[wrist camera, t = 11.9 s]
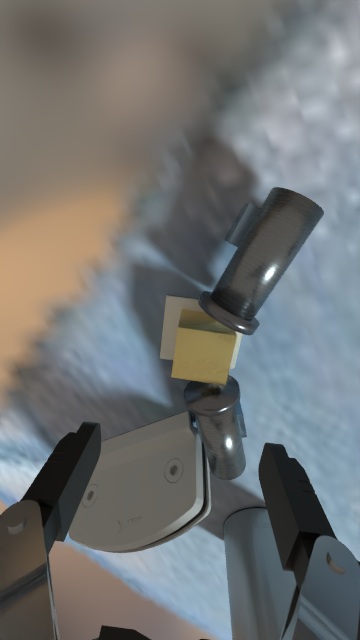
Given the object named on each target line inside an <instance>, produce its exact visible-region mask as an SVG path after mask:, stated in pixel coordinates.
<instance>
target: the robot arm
mask: <svg viewBox="0 0 360 640" xmlns="http://www.w3.org/2000/svg"><path fill="white" fill-rule="evenodd" d="M100 452H101V430H100V424H99V423H91V422H83V423H82V425H81V426H80V428H79V430H78V431H77V433H72V432H70V433H68V434H67V435H66V436H65V437H64V438H62V439H61V440H60V441H59V443H58V444H57V446H56V447H55V449H54V451H53V453H52V454H51V455H50V457H49V458H48V460H47V462H46V463H45V464H44V466H43V467H42V469H41V470H40V472H39V474H38V475H37V477H36V478H35V480H34V481H33V483H32V484H31V486H30V487H29V489H28V490H27V492H26V494H25V495H24V496H23V498H22V499H21V500H20V501H19V502H17V503H15V504H13V505H11V506H10V507H9V508H7V509H6V510H5V511H4V512H3V513H2V514H1V515H0V640H60V639H59V632H58V625H57V618H56V611H55V603H54V595H53V587H52V580H51V571H50V563H49V552H50V550H51V548H52V546H53V544H54V541H62V542H64V540H65V538H66V535H67V533H68V530H69V528H70V526H71V523H72V521H73V519H74V516H75V514H76V512H77V509H78V507H79V505H80V502H81V500H82V498H83V495H84V493H85V490H86V488H87V486H88V483H89V481H90V479H91V476H92V474H93V472H94V469H95V467H96V465H97V462H98V460H99V456H100ZM258 472H259V480H260V484H261V488H262V492H263V496H264V500H265V503H266V507H267V509H262V508H251V509H245V510H242V511H239V512H236V513H235V514H233V515H231V516H230V517H229V518H228V519H227V520H226V522H225V524H224V527H223V528H224V542H225V554H226V568H227V580H228V591H229V603H230V615H231V627H232V639H233V640H360V562H359V561H358V560H356V558H355V557H354V555H353V554H352V552H351V551H350V550H349V549H348V548H347V547H346V546H345V545H344V544H342V543H341V542H340V541H338V539H337V538H336V536H335V534H334V532H333V530H332V528H331V526H330V523H329V521H328V519H327V517H326V515H325V513H324V510H323V508H322V506H321V504H320V502H319V500H318V498H317V495H316V494H315V491H314V489H313V487H312V485H311V484H310V480H309V478H308V476H307V474H306V472H305V470H304V468H303V467H302V466H301V465H300V464H299V462H298V461H297V460H296V459H295V458H289V457H288V454H287V452H286V450H285V447H284V446H283V445H282V444H273V443H265V445H264V449H263V452H262V456H261V460H260V463H259V471H258ZM92 640H151V639H149V638H147V637H146V636H144V635H142V634H141V633H139V632H137V631H136V630H133V629H124V628H118V627H109V626H102V627H101V631H100V636H99V638H96V639H92ZM200 640H208V639H200Z"/></svg>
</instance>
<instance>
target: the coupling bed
mask: <svg viewBox="0 0 360 640" xmlns="http://www.w3.org/2000/svg"><path fill="white" fill-rule="evenodd" d="M198 301H199V300H198V299H191V298H184V297H176V296H169V295H166V303H165V312H164V322H163V332H162V341H161V351H160V359H167V360H174V353H175V345H176V338H177V331H178V325H179V320H180V315H181V310H182V309H186V310H193V311H200V312H205V311H204V310H203V309H202V308H201V307H200V306H199V304H198ZM236 334H237V339H236V343H235V347H234V352H233V356H232V360H231V364H230V369H234V368H235V364H236V359H237V355H238V351H239V347H240V342H241V338H242V333H239V332H236Z"/></svg>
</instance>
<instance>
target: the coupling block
mask: <svg viewBox="0 0 360 640" xmlns="http://www.w3.org/2000/svg"><path fill="white" fill-rule="evenodd" d="M236 339H237V334H236V331H234V330H232V329H230V328H228V327H226V326H224V325H222V324H221V323H219V322H218V321H216V320H215V319H213V318H212V317H211V316H209V315H208V314H207V313H206V312H200V311H193V310H186V309H182V310H181V315H180V320H179V325H178V331H177V338H176V345H175V353H174V360H173V367H172V375H171V377H173V378H180V379H186V380H193V381H199V382H206V383H213V384H219V385H226V381H227V377H228V373H229V369H230V364H231V360H232V356H233V352H234V347H235V343H236Z"/></svg>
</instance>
